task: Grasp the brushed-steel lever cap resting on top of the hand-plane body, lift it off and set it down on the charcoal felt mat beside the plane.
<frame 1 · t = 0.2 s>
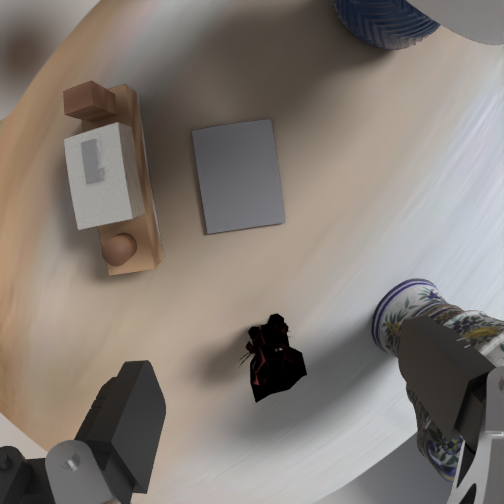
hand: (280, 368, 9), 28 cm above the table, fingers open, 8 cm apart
vase: (406, 316, 41), on the table
lever cap: (111, 175, 30), point 5 cm above the table, touching plane body
lamp: (369, 18, 31), on the table
cat figurine: (269, 331, 41), on the table
felt mat: (238, 175, 35), on the table
plane body: (128, 178, 35), on the table
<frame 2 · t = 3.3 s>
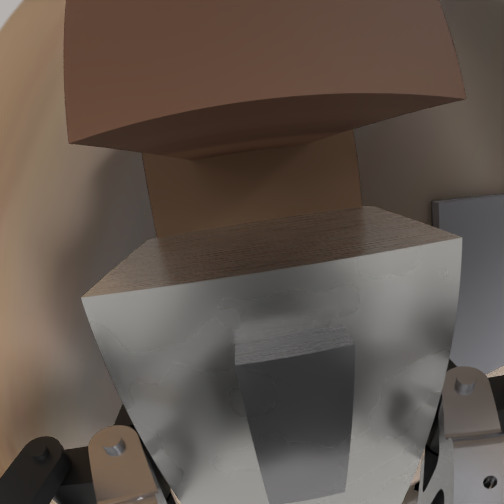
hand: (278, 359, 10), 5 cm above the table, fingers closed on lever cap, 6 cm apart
lever cap: (281, 366, 9), point 5 cm above the table, touching gripper, plane body
felt mat: (486, 296, 15), on the table
plane body: (268, 311, 14), on the table
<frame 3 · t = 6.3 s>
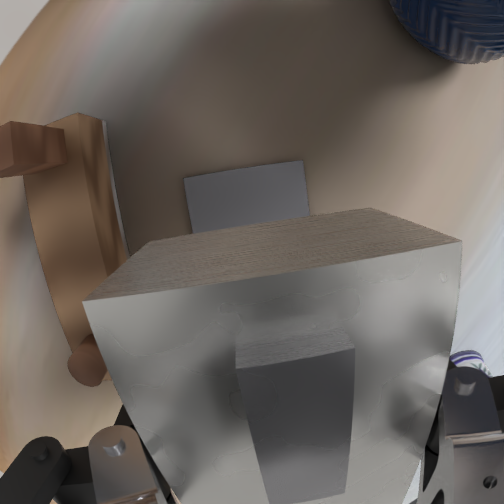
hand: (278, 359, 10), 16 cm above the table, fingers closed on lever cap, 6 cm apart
vase: (446, 389, 31), on the table
lever cap: (281, 368, 9), point 16 cm above the table, touching gripper
lamp: (427, 16, 20), on the table
felt mat: (254, 244, 25), on the table
plane body: (97, 246, 24), on the table
when the fingers open (2 cm above the table, at t = 9.2 s): lever cap drops 1 cm, resting on felt mat.
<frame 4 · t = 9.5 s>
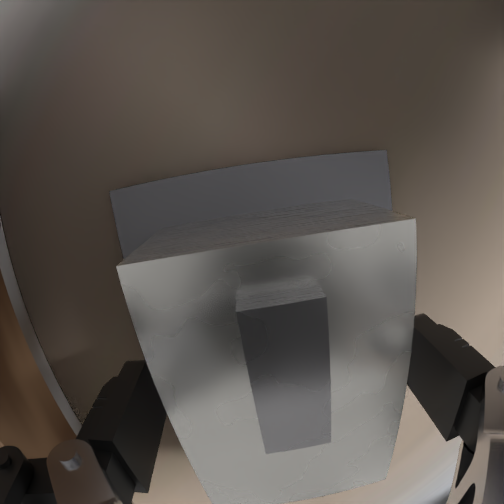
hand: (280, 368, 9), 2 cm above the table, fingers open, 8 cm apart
lever cap: (276, 340, 11), point 1 cm above the table, touching felt mat
felt mat: (273, 332, 11), on the table
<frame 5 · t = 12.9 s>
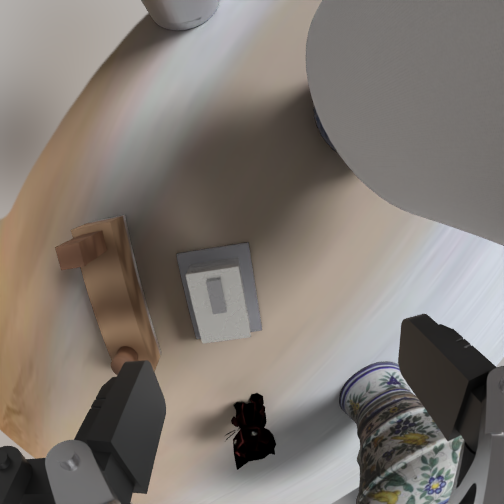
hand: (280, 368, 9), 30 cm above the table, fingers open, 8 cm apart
vase: (371, 389, 46), on the table
lever cap: (220, 294, 40), point 1 cm above the table, touching felt mat
lamp: (354, 116, 36), on the table
cat figurine: (251, 404, 46), on the table
felt mat: (220, 292, 41), on the table
plane body: (124, 291, 40), on the table
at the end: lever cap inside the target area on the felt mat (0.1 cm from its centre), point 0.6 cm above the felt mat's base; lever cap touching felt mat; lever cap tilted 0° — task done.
